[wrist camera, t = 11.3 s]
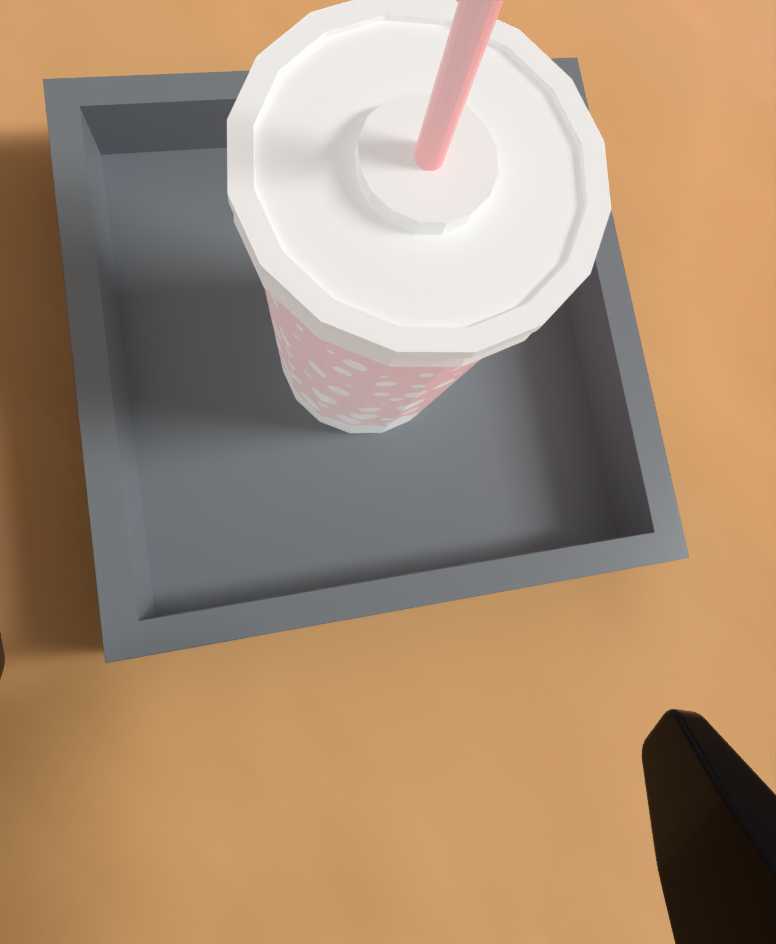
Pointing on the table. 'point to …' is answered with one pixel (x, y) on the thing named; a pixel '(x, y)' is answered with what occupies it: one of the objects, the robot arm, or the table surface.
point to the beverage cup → (409, 198)
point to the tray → (295, 429)
